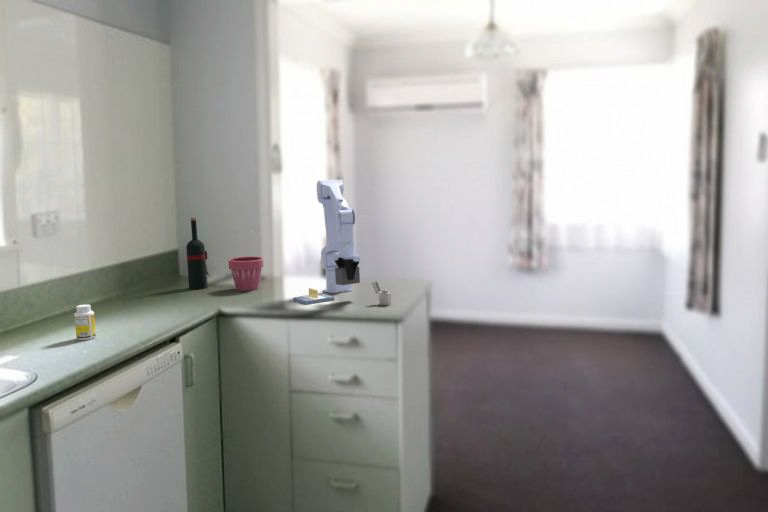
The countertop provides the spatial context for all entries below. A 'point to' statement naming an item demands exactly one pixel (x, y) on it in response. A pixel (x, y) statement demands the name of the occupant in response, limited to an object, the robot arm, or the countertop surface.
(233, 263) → the plant pot
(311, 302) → the header board
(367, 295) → the countertop surface
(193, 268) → the wine bottle
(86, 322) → the supplement bottle
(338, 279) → the block
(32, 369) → the countertop surface
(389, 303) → the lighter
